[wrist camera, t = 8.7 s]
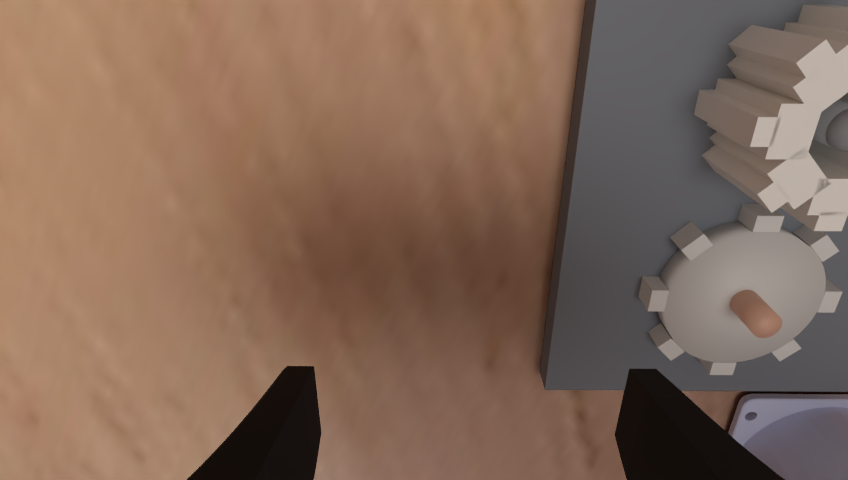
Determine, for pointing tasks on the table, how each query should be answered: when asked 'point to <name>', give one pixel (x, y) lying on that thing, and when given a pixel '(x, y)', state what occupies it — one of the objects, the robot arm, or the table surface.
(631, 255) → the gear board
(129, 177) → the table surface
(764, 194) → the idler gear
